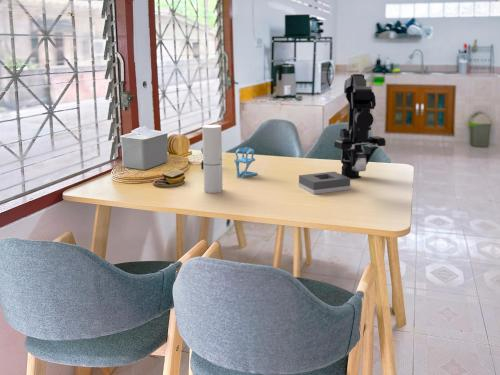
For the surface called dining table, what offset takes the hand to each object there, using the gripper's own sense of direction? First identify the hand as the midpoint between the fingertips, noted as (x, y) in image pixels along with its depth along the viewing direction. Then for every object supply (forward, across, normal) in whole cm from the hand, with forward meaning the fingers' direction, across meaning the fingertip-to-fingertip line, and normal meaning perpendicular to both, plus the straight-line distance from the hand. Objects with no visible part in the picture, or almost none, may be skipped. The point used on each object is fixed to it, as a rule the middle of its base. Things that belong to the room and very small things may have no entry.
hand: (359, 165), depth 203 cm
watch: (+11, +38, -64) cm, 75 cm away
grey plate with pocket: (+11, +7, -13) cm, 18 cm away
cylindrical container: (+11, +48, -27) cm, 56 cm away
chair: (+11, +28, -44) cm, 53 cm away
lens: (+2, 0, 0) cm, 2 cm away
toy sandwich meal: (+12, +61, -45) cm, 76 cm away
